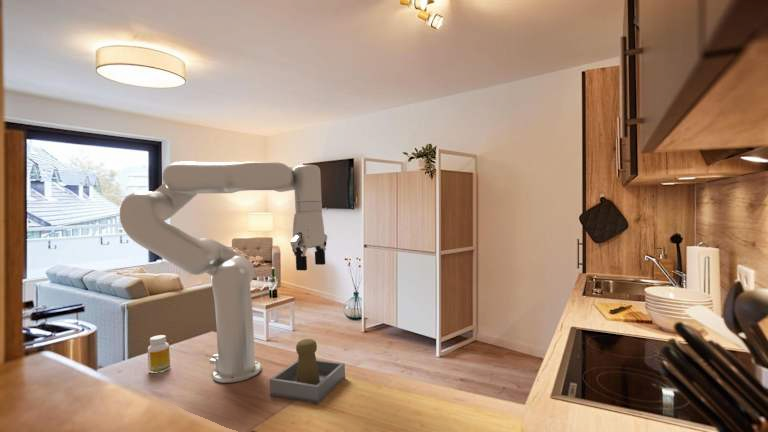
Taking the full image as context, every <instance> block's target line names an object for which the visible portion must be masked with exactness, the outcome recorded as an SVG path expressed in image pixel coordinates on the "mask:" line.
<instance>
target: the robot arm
mask: <svg viewBox="0 0 768 432" xmlns="http://www.w3.org/2000/svg"><path fill="white" fill-rule="evenodd" d="M321 178H322V177H321V169H320V167H319V166H318V165H315V164H299V165H297V166H294V167H293V166H292V167H291V166H288V165H286V164H285V163H283V162H274V161H244V162H243V161H242V162H237V161H235V162H234V161H231V162H229V161H228V162H224V161H223V162H222V161H221V162H219V161H218V162H217V161H215V162H213V161H212V162H209V161H207V162H206V161H202V162H201V161H198V162H197V161H179V162H178V161H176V162H172V163H170V164H168V165H167V166H166V167H165V168H164V169H163V172H162V181H163V184H161V185H160V186H158V188H156V189H155V190H154V191H151V190H150V191H149V190H140V191H135V192H132V193H131V194H128V195H127V196H125V198H124V199H123V200H122V202H121V205H120V208H119V220H120V224H121V226H122V228H123V231H124V232H125V233H126V235H127V236H128V237H129V238H130V239H131V241H134V242H135V243H136V244H137V245H139V246H141V247H142V248H144V249H146V250H148V251H150V252H152V253H153V254H155V255H156V256H158V257H160V258H162V259H163V260H165V261H166V262H169V263H171V264H173V265H174V266H176V267H177V268H179V269H180V270H181V269H182V270H183V271H184V272H187V273H188V274H190V275H195V276H197V275H198V276H199V275H203V274H205V273H206V274H207V275H209V276H211V277H212V281H211V285H212V293H213V299H214V309H215V322H216V324H215V325H216V339H217V340H216V341H217V344H216V346H217V353H214V354H213V356H212V358H210V360H209V364H210V365H215V369H214V370H213V372H212V379H213V380H214V381H215V382H217V383H225V384H226V383H227V384H228V383H229V384H231V383H238V382H242V381H246V380H248V379H250V378H251V379H252V378H253V377H254V376H256V375H258V374H259V373H260V372H261V370H262V364H261V362H260V361H257V360H256V356H255V353H256V352H255V336H254V315H253V300H252V293H251V283H252V281H253V279H254V277H255V272H256V271H255V267H254V265H253V263H252V262H251V260H249V258H247V257H245V256H243V255H242V254H240V253H238V252H237V251H235V250H233V249H231V248H230V247H228V246H226V245H224V244H222V243H221V242H219V241H217V240H214V239H211V238H208V237H202V238H196V237H193V236H192V235H190V234H189V233H186V232H184V231H183V230H181V229H180V228H178V227H176V226H174V225H171V224H169V223H168V222H165V221H166V220H168V219H170V218H172V217H173V216H174V215H175V214H176V213H178V212H179V211H180V210H181V209H182V208H184V206H185V205H187V204H188V203H189V202H190V201H191V200H193V199H194V197H196V196H197V195H199V194H233V193H237V192H245V191H275V192H278V193H283V192H289V191H294V204H295V205H294V206H295V207H294V208H295V209H294V211H295V213H294V215H293V216H294V217H293V226H292V239H291V241H290V245H291V248H292V250H291V251H292V253H293V256H294V257H295V270H296V271H307V270H308V263H307V262H308V260H307V259H308V258H307V255H306V253H307V251H308V249H312V248H314V249H315V250H314V263H315V265H321V266H324V265H326V252H325V251H327V250H326V249H327V241H328V235H327V234H325V226H324V218H323V204H322V203H323V202H322V184H321V183H322V181H321V180H322V179H321Z"/></svg>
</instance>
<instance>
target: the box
mask: <svg viewBox="0 0 768 432" xmlns="http://www.w3.org/2000/svg"><path fill="white" fill-rule="evenodd" d="M316 362H317V368H318V373H319V379H320V383H318V384H317V385H313V384H307V383H300V382H296V379H297V368H298V359H297V360H295V361H293V362H292V363H291V364H290V365H288V366H287V367H285V368H284V369H282V370H281V371H280V372H278V373H276V374H275V375H274V376H272V377H271V378H269V379H268V380H269V395H270V396H272V397H277V398H282V399H286V400H287V399H288V400H293V401H299V402H306V403H309V402H310V403H311V404H316V405H318V404H320V403H321V402H322V401H324V399H325V398H326V397H328V396H329V394H331V393H332V392H333V391H334V390H335V389H336V388H337V387H338V386H339V385H340V384H341V383H342V382H343V381H344V380H345V379H346V368H345V367H346V365H345V363H344V362H338V361H329V360H323V359H322V360H321V359H316ZM342 380H343V381H342ZM341 381H342V382H341ZM340 382H341V383H340ZM339 383H340V384H339ZM338 384H339V385H338ZM337 385H338V386H337ZM336 386H337V387H336ZM335 387H336V388H335ZM334 388H335V389H334ZM333 389H334V390H333ZM332 390H333V391H332ZM331 391H332V392H331Z"/></svg>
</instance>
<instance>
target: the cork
mask: <svg viewBox="0 0 768 432" xmlns="http://www.w3.org/2000/svg"><path fill="white" fill-rule="evenodd" d="M317 348H318V344H317V342H316V340H314V339H312V338H306V339H304V338H303V339H300V340H299V341H297V343H296V345H295V349H296V354H297V355H298V358H297V360H298V368H297V379H296V382H300V383H307V384H313V385H317V384H318V383H320V379H319V373H318V368H317V362H316V360H317V358H316V352H317Z"/></svg>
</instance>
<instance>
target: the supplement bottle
mask: <svg viewBox="0 0 768 432" xmlns="http://www.w3.org/2000/svg"><path fill="white" fill-rule="evenodd" d="M149 344H150V345H149V346H148V347H147V362H148V363H147V364H148V365H147V366H148V371H149V370H150V371H153V372H161V371H164V370H166V369H168V368H169V367H170V368H171V357H170V356H171V355H170V354H171V353H170V344H169V342H167V336H166V335H164V334H160V335H159V334H158V335H154V336H151V337H150V338H149ZM170 368H169V369H170ZM169 369H168V370H169Z"/></svg>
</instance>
